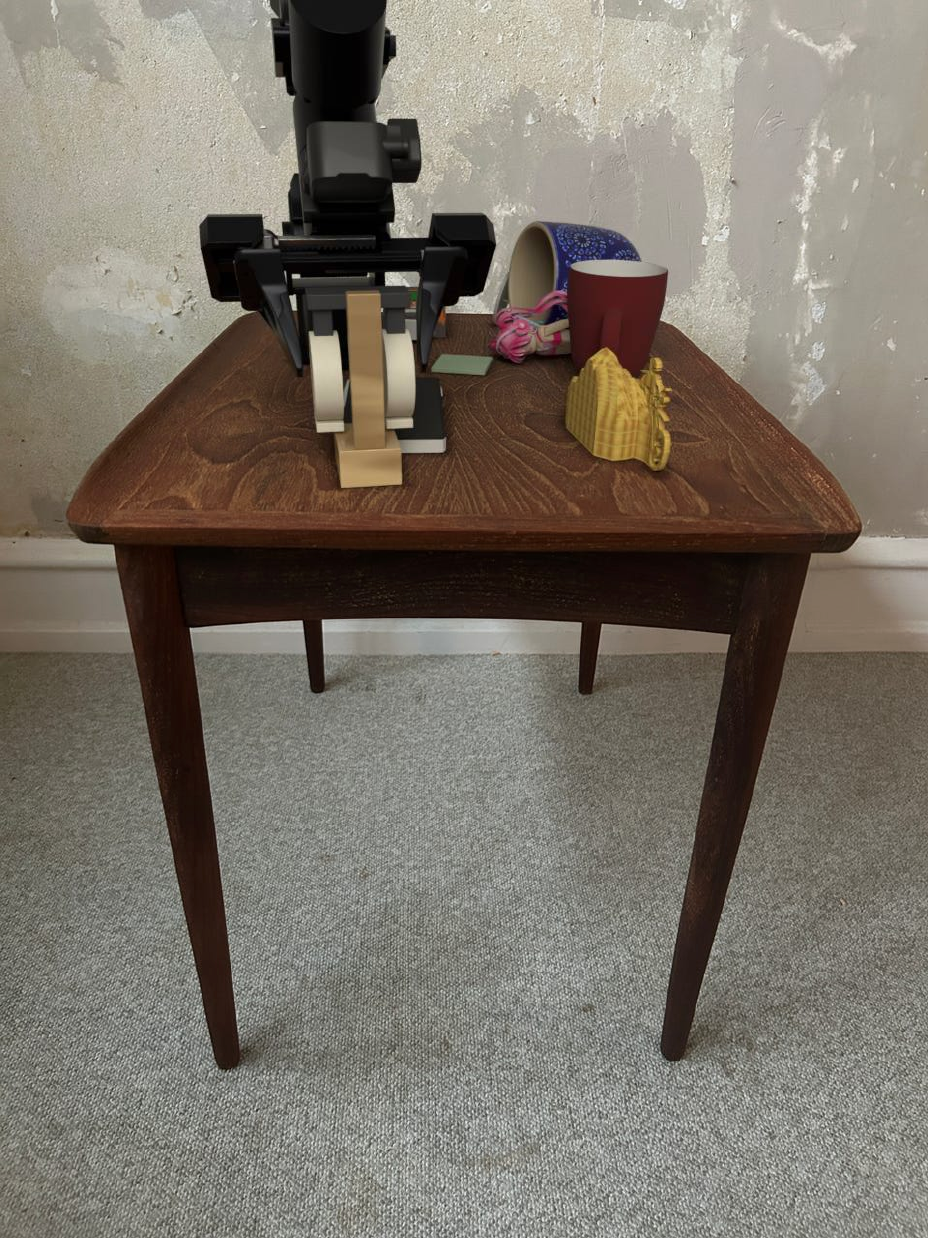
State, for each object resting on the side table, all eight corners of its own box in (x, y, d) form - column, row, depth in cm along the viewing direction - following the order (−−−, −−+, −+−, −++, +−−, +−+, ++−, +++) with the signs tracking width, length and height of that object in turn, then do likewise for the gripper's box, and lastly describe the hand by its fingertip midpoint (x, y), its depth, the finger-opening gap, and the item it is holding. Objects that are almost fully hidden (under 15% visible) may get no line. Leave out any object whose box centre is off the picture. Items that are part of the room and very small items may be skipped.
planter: (635, 357, 91) (540, 354, 86) (589, 316, 98) (499, 313, 94) (668, 248, 84) (566, 240, 80) (615, 214, 92) (520, 205, 87)
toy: (630, 381, 88) (488, 382, 84) (616, 336, 90) (477, 335, 86) (661, 330, 81) (509, 328, 77) (645, 283, 83) (496, 278, 79)
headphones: (313, 412, 61) (304, 282, 56) (404, 407, 62) (402, 280, 58) (318, 439, 56) (307, 300, 52) (416, 434, 57) (414, 297, 53)
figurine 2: (604, 419, 69) (614, 327, 65) (669, 476, 59) (685, 371, 56) (560, 422, 68) (567, 329, 65) (618, 480, 58) (630, 374, 55)
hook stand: (334, 454, 62) (323, 275, 55) (390, 451, 62) (385, 274, 56) (341, 488, 57) (329, 294, 50) (402, 484, 57) (398, 293, 51)
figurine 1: (489, 334, 96) (558, 357, 95) (497, 288, 91) (569, 312, 90) (506, 306, 99) (572, 328, 98) (514, 261, 94) (584, 283, 93)
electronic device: (380, 318, 87) (386, 281, 100) (381, 347, 89) (387, 308, 101) (448, 319, 88) (445, 282, 100) (447, 348, 89) (445, 309, 102)
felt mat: (431, 371, 80) (431, 367, 80) (441, 357, 84) (441, 353, 84) (484, 375, 79) (485, 371, 79) (492, 361, 84) (492, 356, 83)
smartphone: (333, 439, 61) (345, 376, 74) (334, 455, 62) (346, 390, 75) (448, 438, 62) (440, 376, 74) (448, 455, 62) (440, 390, 75)
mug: (663, 414, 71) (681, 284, 65) (563, 411, 71) (573, 281, 66) (646, 377, 80) (661, 260, 74) (558, 374, 80) (566, 258, 75)
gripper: (178, 60, 50) (193, 301, 47) (495, 68, 53) (531, 293, 50) (205, 197, 61) (219, 401, 57) (467, 196, 64) (495, 389, 60)
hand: (362, 371), depth 56 cm, fingers open, 8 cm apart
